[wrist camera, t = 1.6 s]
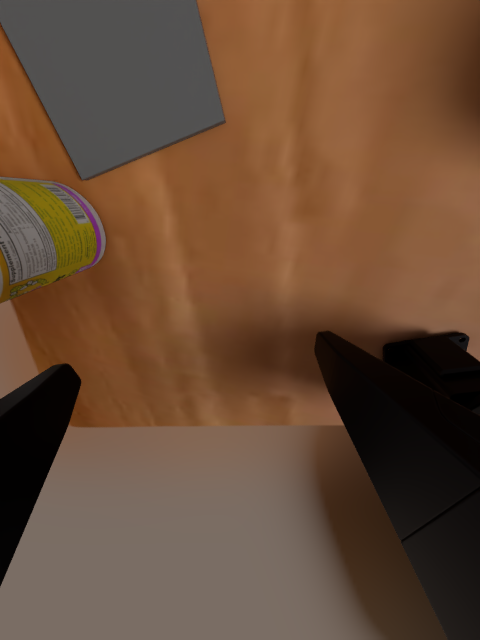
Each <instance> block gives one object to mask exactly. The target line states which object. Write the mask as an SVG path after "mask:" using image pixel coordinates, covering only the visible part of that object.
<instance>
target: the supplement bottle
mask: <svg viewBox="0 0 480 640" xmlns="http://www.w3.org/2000/svg"><path fill="white" fill-rule="evenodd" d="M105 247H106V236H105V232H104V228H103V225H102V223H101V220H100V218H99V216H98V214H97V213H96V211H95V210H94V208H93V207H92V206H91V205H90V203H89V202H88V201H87V200H86V199H85V198H84V197H83V196H81V195H80V194H79V193H78V192H76V191H75V190H73V189H71V188H70V187H68V186H66V185H63V184H61V183H58V182H53V181H45V180H34V179H22V178H9V177H0V303H2V302H5V301H7V300H10V299H13V298H15V297H18V296H20V295H23V294H25V293H28V292H30V291H33V290H35V289H38V288H40V287H43V286H45V285H48V284H50V283H53V282H56V281H58V280H61V279H63V278H66V277H68V276H71V275H73V274H76V273H78V272H81V271H83V270H86V269H88V268H90V267H92V266H94V265H95V264H97V263H98V262H99V260H100V259H101V258H102V256H103V254H104V251H105Z"/></svg>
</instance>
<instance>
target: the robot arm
mask: <svg viewBox="0 0 480 640" xmlns="http://www.w3.org/2000/svg"><path fill="white" fill-rule="evenodd" d="M460 338H461V339H460ZM468 342H469V337H468V336H467V335H466V334H464V333H454V334H448V335H441V336H435V337H428V338H421V339H415V340H408V341H402V342H395V343H389V344H386V345H385V346H384V347H383V361H382V360H380V359H378V358H376V357H375V356H373V355H371V354H369V353H367V352H366V351H364V350H362V349H360V348H359V347H357V346H355V345H353V344H352V343H350V342H348V341H346V340H345V339H343V338H341V337H339V336H338V335H336V334H334V333H332V332H330V331H322V332H318V333H317V335H316V342H315V348H314V351H315V356H316V358H317V361H318V364H319V367H320V370H321V373H322V376H323V378H324V381H325V384H326V387H327V389H328V392H329V394H330V396H331V398H332V401H333V403H334V405H335V407H336V409H337V411H338V413H339V415H340V417H341V419H342V421H343V423H344V425H345V427H346V429H347V432H348V434H349V436H350V438H351V440H352V442H353V444H354V446H355V448H356V450H357V452H358V454H359V456H360V458H361V460H362V463H363V465H364V467H365V469H366V471H367V473H368V475H369V477H370V479H371V481H372V483H373V485H374V487H375V489H376V491H377V493H378V496H379V498H380V500H381V502H382V504H383V506H384V508H385V510H386V512H387V514H388V516H389V518H390V520H391V523H392V525H393V527H394V529H395V531H396V533H397V535H398V537H399V539H400V540H401V544H402V546H403V548H404V550H405V552H406V554H407V556H408V558H409V560H410V562H411V564H412V566H413V568H414V570H415V573H416V575H417V577H418V579H419V581H420V583H421V585H422V587H423V589H424V591H425V593H426V595H427V597H428V599H429V601H430V603H431V606H432V608H433V610H434V612H435V614H436V616H437V618H438V620H439V622H440V624H441V626H442V628H443V630H444V633H445V634H446V637H447V639H448V640H480V361H478V360H477V359H476V358H474V357H473V356H472V355H470V354H469V353H468V352H466V351H467V346H468ZM390 348H391V349H390ZM388 349H390V350H388ZM80 386H81V379H80V377H79V376H78V374H77V373H76V372H75V370H74V369H73V368H72V366H71V365H69V364H66V363H65V364H57V365H53V366H52V367H50V368H48V369H47V370H45V371H44V372H42V373H41V374H39V375H38V376H36V377H34V378H33V379H31V380H30V381H28V382H26V383H25V384H23V385H22V386H20V387H19V388H17V389H15V390H14V391H12V392H11V393H9V394H8V395H6V396H5V397H3V398H1V399H0V586H1V584H2V581H3V579H4V577H5V574H6V572H7V570H8V567H9V565H10V563H11V560H12V558H13V555H14V553H15V551H16V548H17V546H18V544H19V541H20V539H21V537H22V534H23V532H24V529H25V527H26V525H27V522H28V520H29V517H30V515H31V513H32V510H33V508H34V505H35V503H36V501H37V499H38V496H39V494H40V492H41V489H42V487H43V484H44V482H45V479H46V477H47V475H48V473H49V470H50V468H51V465H52V463H53V461H54V458H55V456H56V454H57V451H58V449H59V447H60V444H61V442H62V439H63V437H64V435H65V432H66V430H67V427H68V425H69V422H70V419H71V415H72V412H73V409H74V406H75V402H76V399H77V396H78V393H79V389H80Z"/></svg>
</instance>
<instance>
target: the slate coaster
mask: <svg viewBox="0 0 480 640" xmlns="http://www.w3.org/2000/svg"><path fill="white" fill-rule="evenodd" d="M0 23H1V25H2V27H3V29H4V31H5V32H6V34H7V36H8V38H9V40H10V42H11V44H12V46H13V48H14V50H15V52H16V54H17V56H18V57H19V59H20V61H21V63H22V65H23V67H24V69H25V71H26V73H27V75H28V77H29V79H30V80H31V82H32V84H33V86H34V88H35V90H36V92H37V94H38V96H39V98H40V100H41V102H42V104H43V105H44V107H45V109H46V111H47V113H48V115H49V117H50V119H51V121H52V123H53V125H54V127H55V129H56V130H57V132H58V134H59V136H60V138H61V140H62V142H63V144H64V146H65V148H66V150H67V152H68V154H69V155H70V157H71V159H72V161H73V163H74V165H75V167H76V169H77V171H78V173H79V175H80V177H81V178H82V180H89V179H92V178H94V177H96V176H99V175H101V174H104V173H106V172H108V171H111V170H113V169H116V168H118V167H120V166H123V165H125V164H128V163H130V162H132V161H135V160H137V159H140V158H142V157H144V156H147V155H149V154H152V153H154V152H156V151H159V150H161V149H164V148H166V147H168V146H171V145H173V144H176V143H178V142H180V141H183V140H185V139H188V138H190V137H192V136H195V135H197V134H200V133H202V132H204V131H207V130H209V129H212V128H214V127H216V126H219V125H221V124H224V123H226V121H225V117H224V113H223V109H222V105H221V100H220V96H219V92H218V88H217V84H216V80H215V76H214V71H213V67H212V63H211V59H210V55H209V51H208V46H207V42H206V38H205V34H204V30H203V26H202V22H201V17H200V13H199V9H198V5H197V1H196V0H0Z"/></svg>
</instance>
